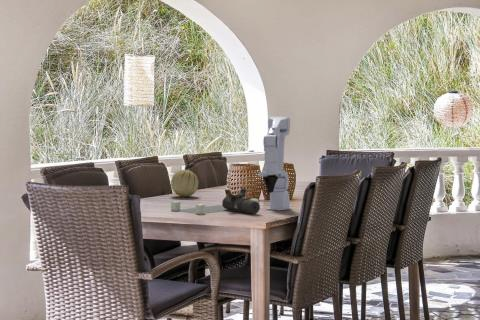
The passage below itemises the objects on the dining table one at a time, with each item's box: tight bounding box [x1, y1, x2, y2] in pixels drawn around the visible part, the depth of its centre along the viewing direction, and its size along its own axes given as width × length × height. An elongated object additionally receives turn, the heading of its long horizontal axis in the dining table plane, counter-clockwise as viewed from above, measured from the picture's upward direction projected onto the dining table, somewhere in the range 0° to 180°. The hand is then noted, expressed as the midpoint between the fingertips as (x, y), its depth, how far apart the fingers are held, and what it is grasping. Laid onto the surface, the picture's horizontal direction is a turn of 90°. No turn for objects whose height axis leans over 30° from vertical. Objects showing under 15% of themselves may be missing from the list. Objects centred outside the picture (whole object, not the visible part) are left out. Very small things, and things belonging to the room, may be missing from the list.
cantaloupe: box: [170, 168, 199, 198], centre depth 441 cm, size 15×15×15 cm
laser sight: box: [221, 188, 261, 215], centre depth 378 cm, size 10×22×10 cm, turn 36°
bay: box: [170, 195, 259, 215], centre depth 389 cm, size 40×19×4 cm, turn 138°
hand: (270, 192), depth 366 cm, fingers closed
